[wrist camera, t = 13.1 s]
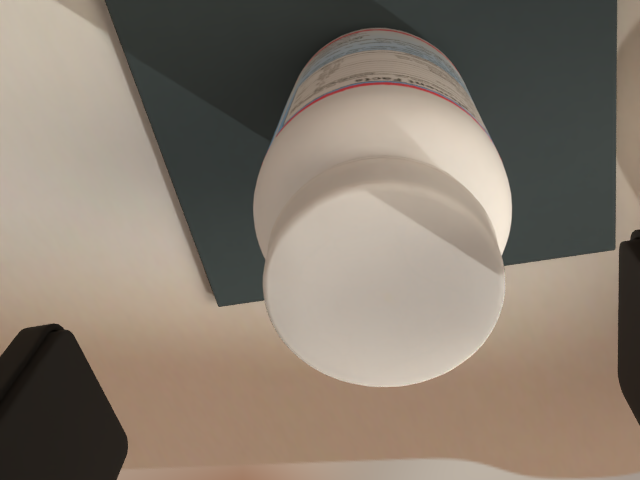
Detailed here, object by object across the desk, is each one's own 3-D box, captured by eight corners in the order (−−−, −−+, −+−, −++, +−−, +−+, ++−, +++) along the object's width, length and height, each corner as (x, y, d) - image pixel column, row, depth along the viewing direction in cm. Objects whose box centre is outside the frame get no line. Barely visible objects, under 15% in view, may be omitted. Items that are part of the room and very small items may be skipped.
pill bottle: (407, 218, 23) (431, 455, 13) (263, 144, 22) (175, 342, 12) (504, 79, 20) (623, 249, 11) (343, -14, 19) (311, 80, 10)
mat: (220, 300, 26) (218, 307, 26) (92, -48, 20) (86, -47, 19) (611, 243, 24) (615, 250, 23) (612, -185, 17) (618, -187, 17)
